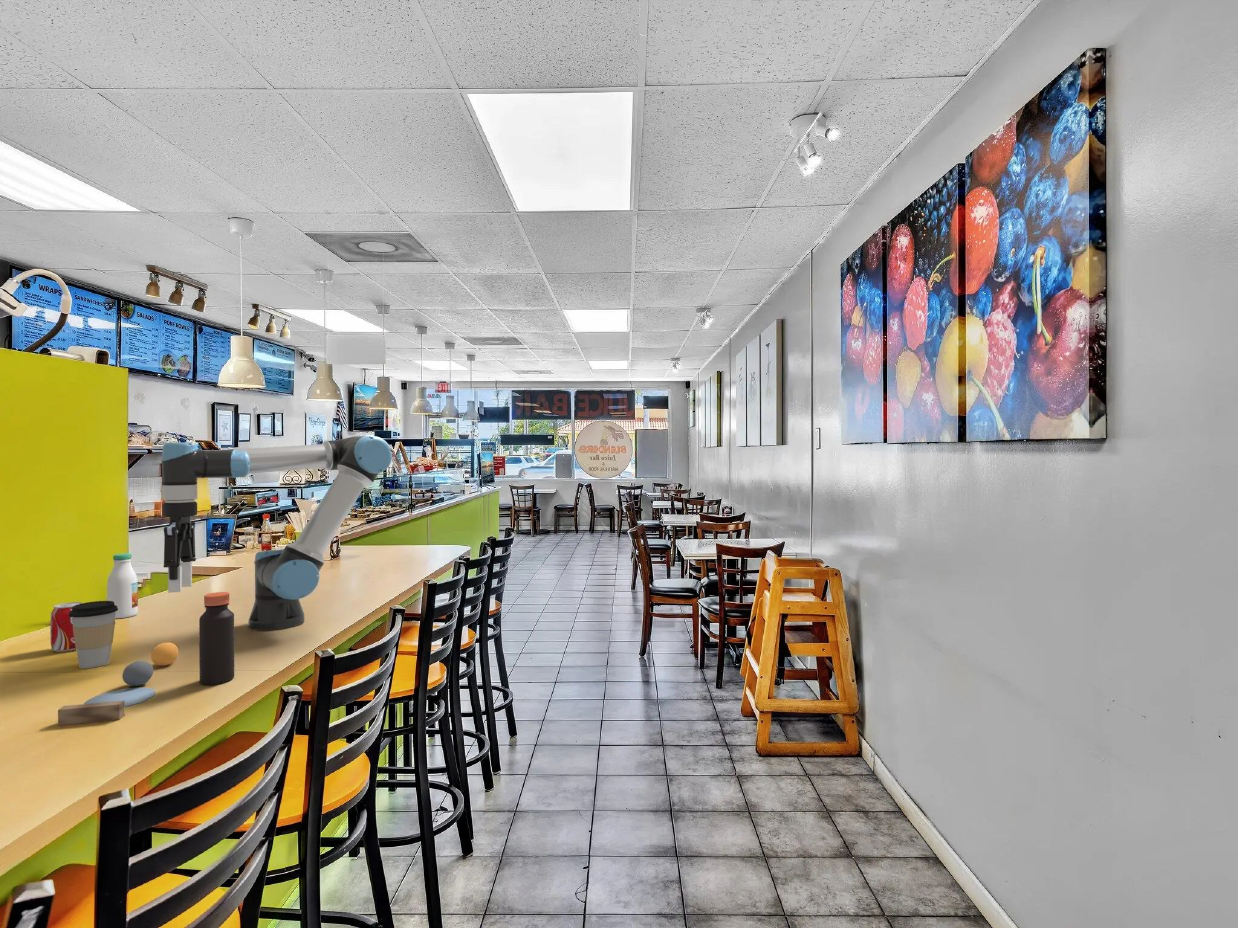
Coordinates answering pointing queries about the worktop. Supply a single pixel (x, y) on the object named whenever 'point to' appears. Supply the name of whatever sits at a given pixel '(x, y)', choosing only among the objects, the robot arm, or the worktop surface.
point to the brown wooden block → (91, 712)
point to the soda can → (62, 628)
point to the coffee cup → (93, 632)
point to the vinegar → (216, 640)
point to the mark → (124, 696)
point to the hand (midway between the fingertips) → (180, 589)
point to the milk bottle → (123, 586)
